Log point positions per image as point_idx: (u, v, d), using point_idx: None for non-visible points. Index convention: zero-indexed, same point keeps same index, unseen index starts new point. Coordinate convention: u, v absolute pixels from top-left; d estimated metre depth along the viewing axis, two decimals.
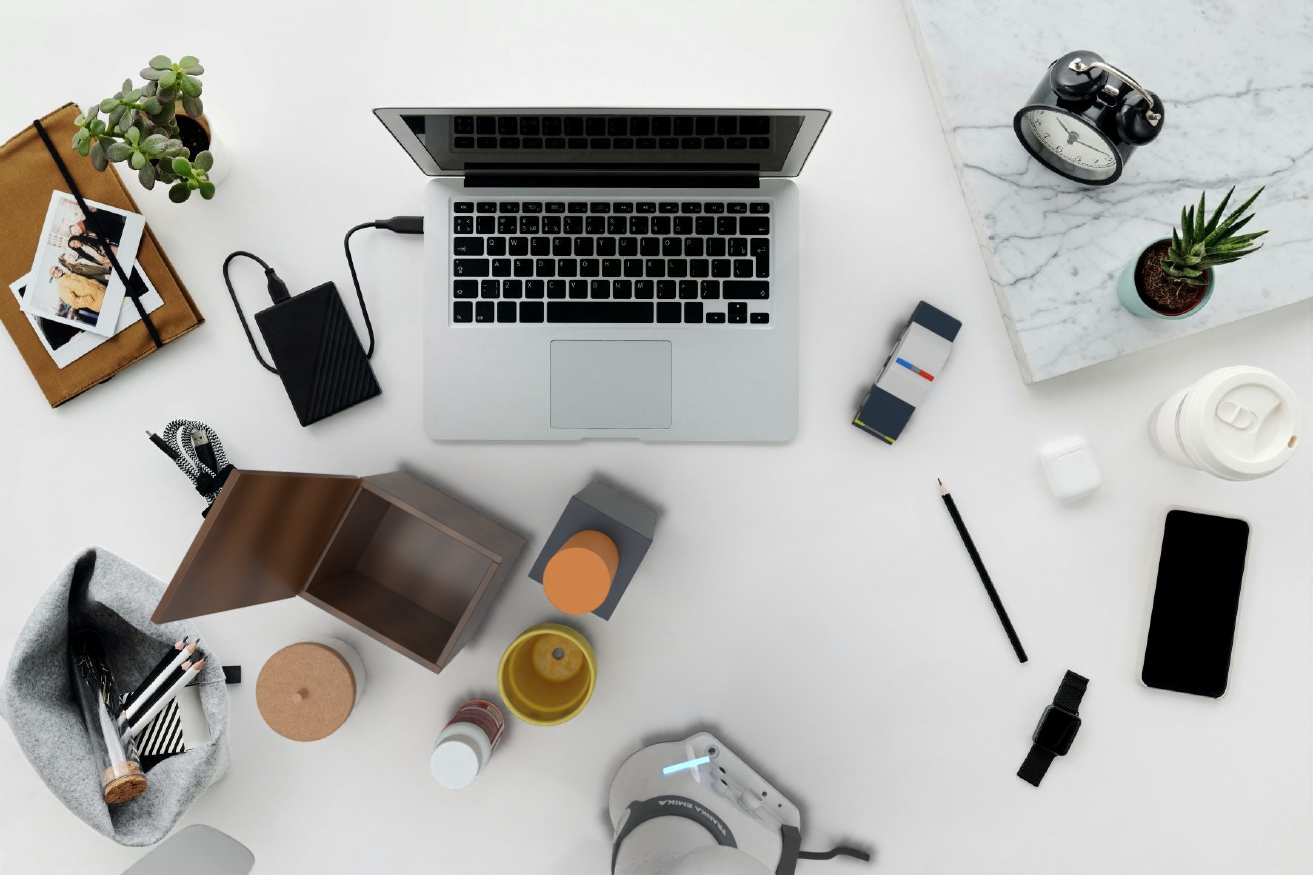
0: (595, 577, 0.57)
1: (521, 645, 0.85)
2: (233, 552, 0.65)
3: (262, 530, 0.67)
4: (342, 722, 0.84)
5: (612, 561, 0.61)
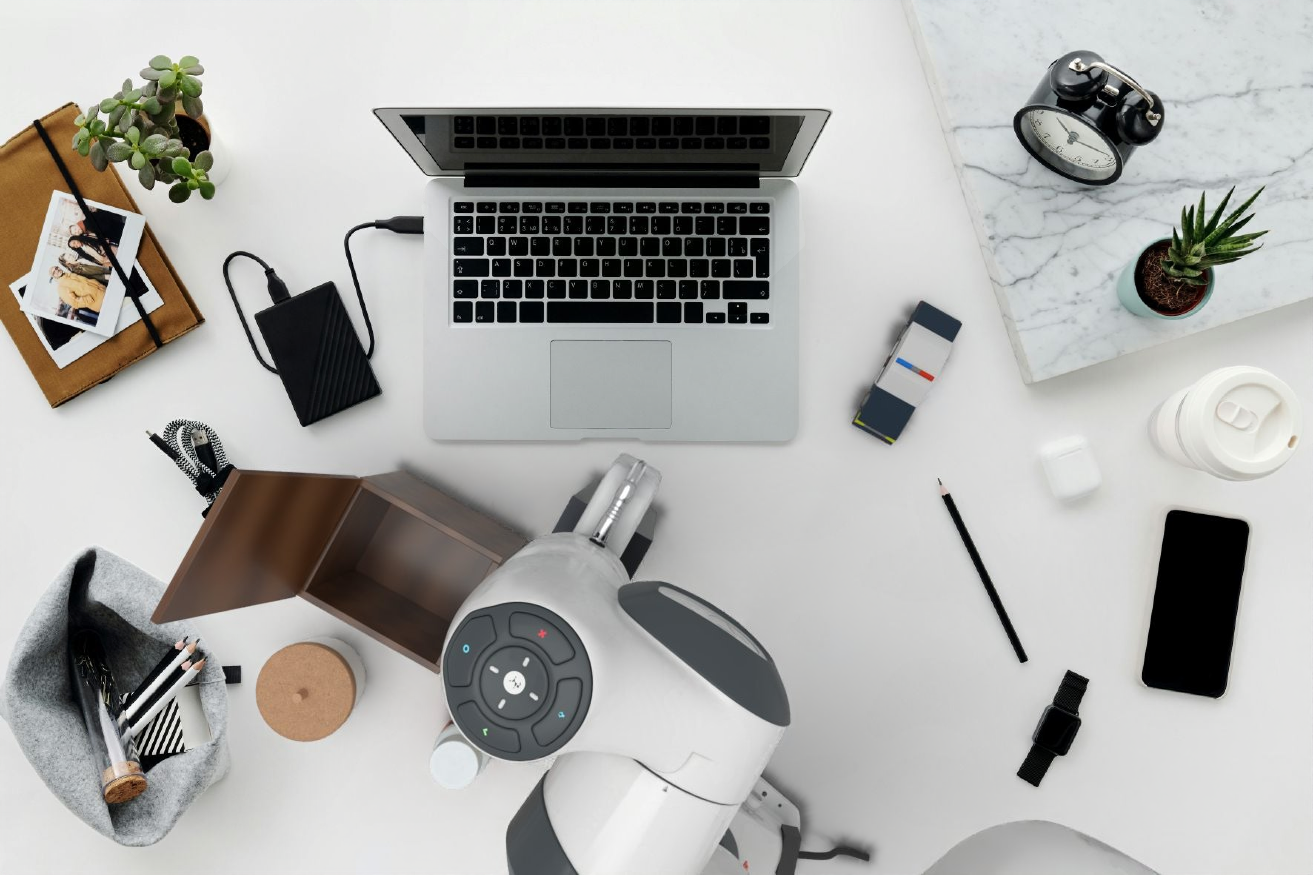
0: None
1: None
2: (233, 552, 0.65)
3: (262, 530, 0.67)
4: (342, 722, 0.84)
5: None
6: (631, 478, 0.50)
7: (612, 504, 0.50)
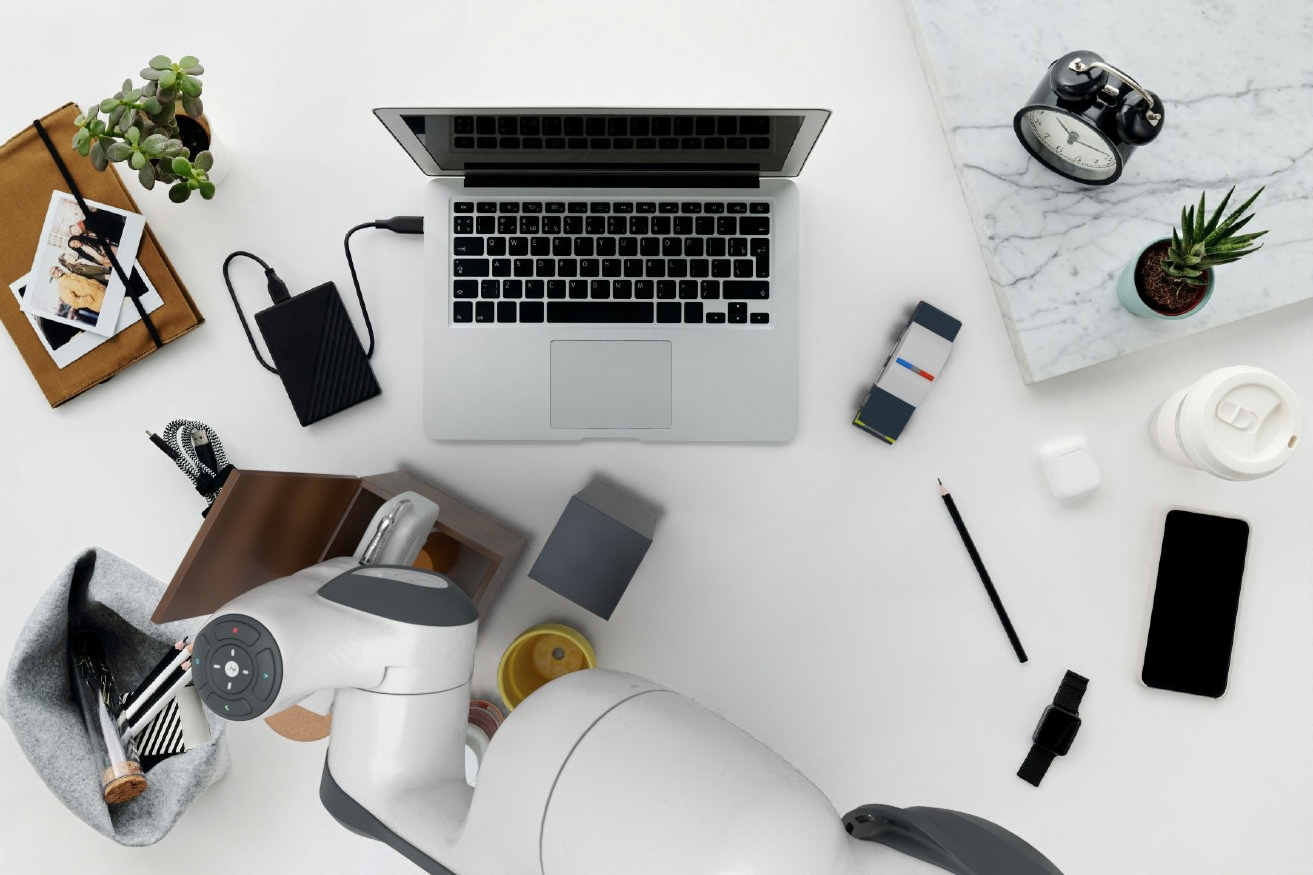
0: (422, 566, 0.81)
1: (521, 645, 0.85)
2: (233, 552, 0.65)
3: (262, 530, 0.67)
4: None
5: (442, 555, 0.85)
6: (389, 514, 0.66)
7: (375, 535, 0.66)
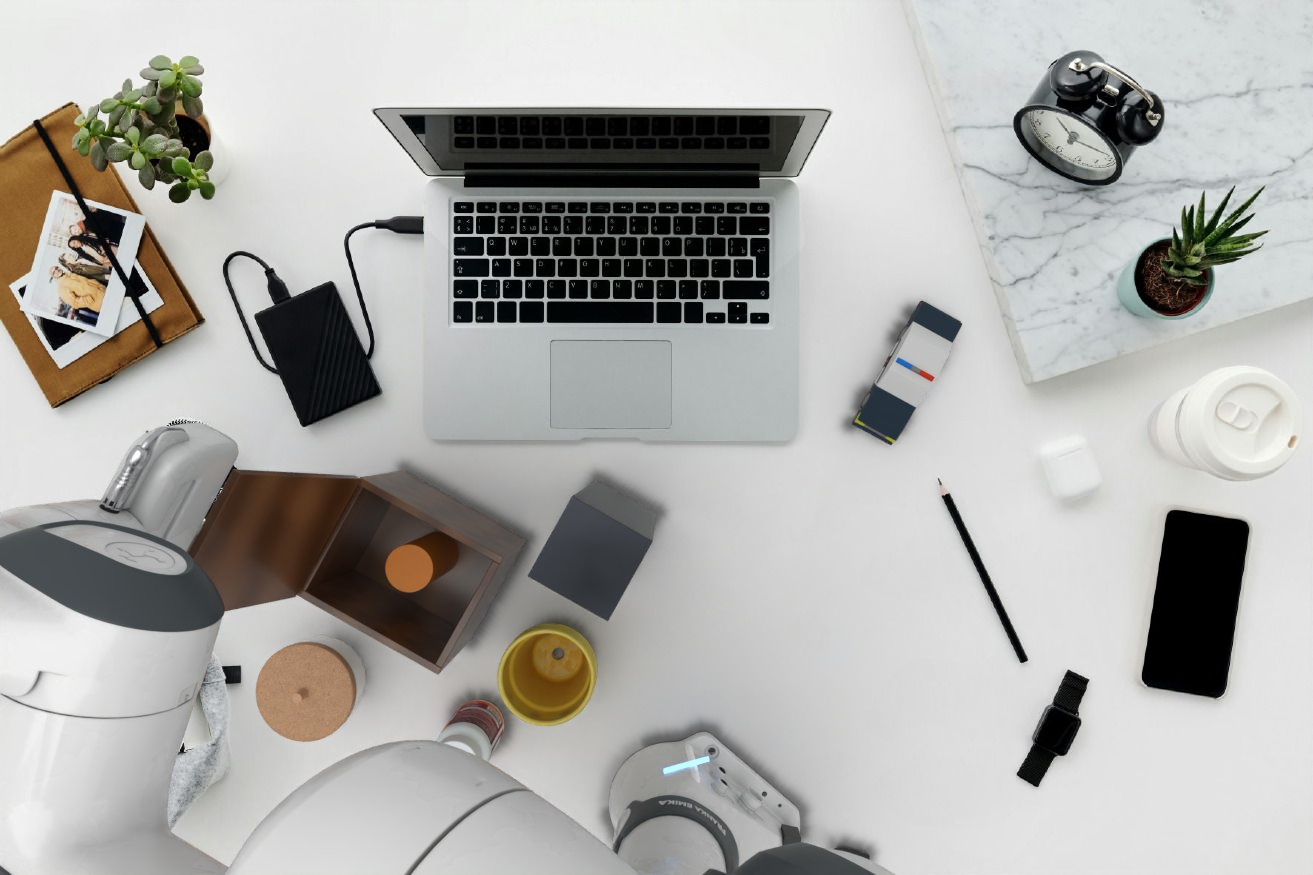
0: (422, 566, 0.81)
1: (521, 645, 0.85)
2: (233, 552, 0.65)
3: (262, 531, 0.67)
4: (342, 722, 0.84)
5: (442, 555, 0.85)
6: (142, 444, 0.50)
7: (122, 470, 0.50)
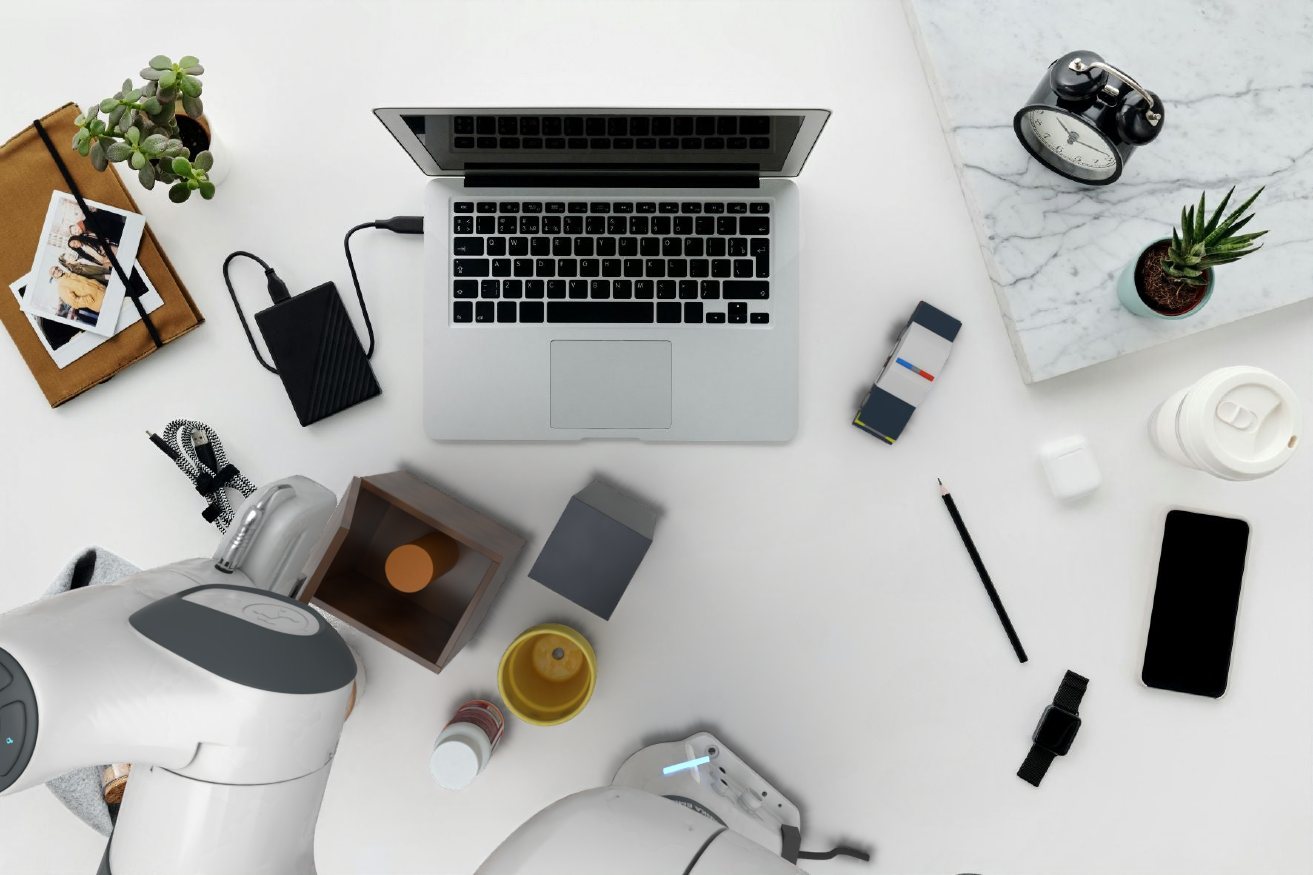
0: (422, 566, 0.81)
1: (521, 645, 0.85)
2: None
3: None
4: None
5: (442, 555, 0.85)
6: (257, 504, 0.50)
7: (237, 530, 0.50)
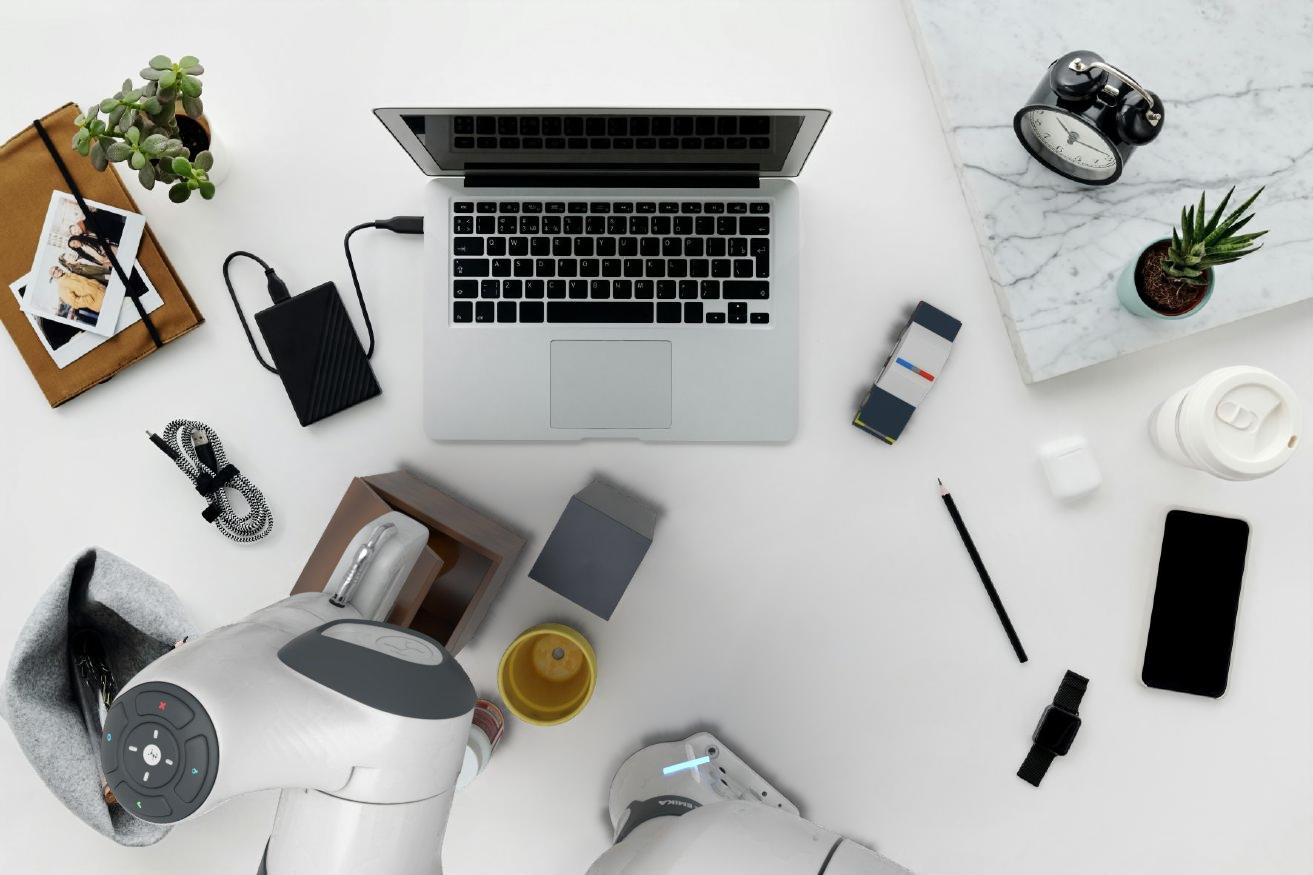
0: None
1: (521, 645, 0.85)
2: None
3: None
4: None
5: (442, 555, 0.85)
6: (368, 543, 0.54)
7: (350, 567, 0.54)
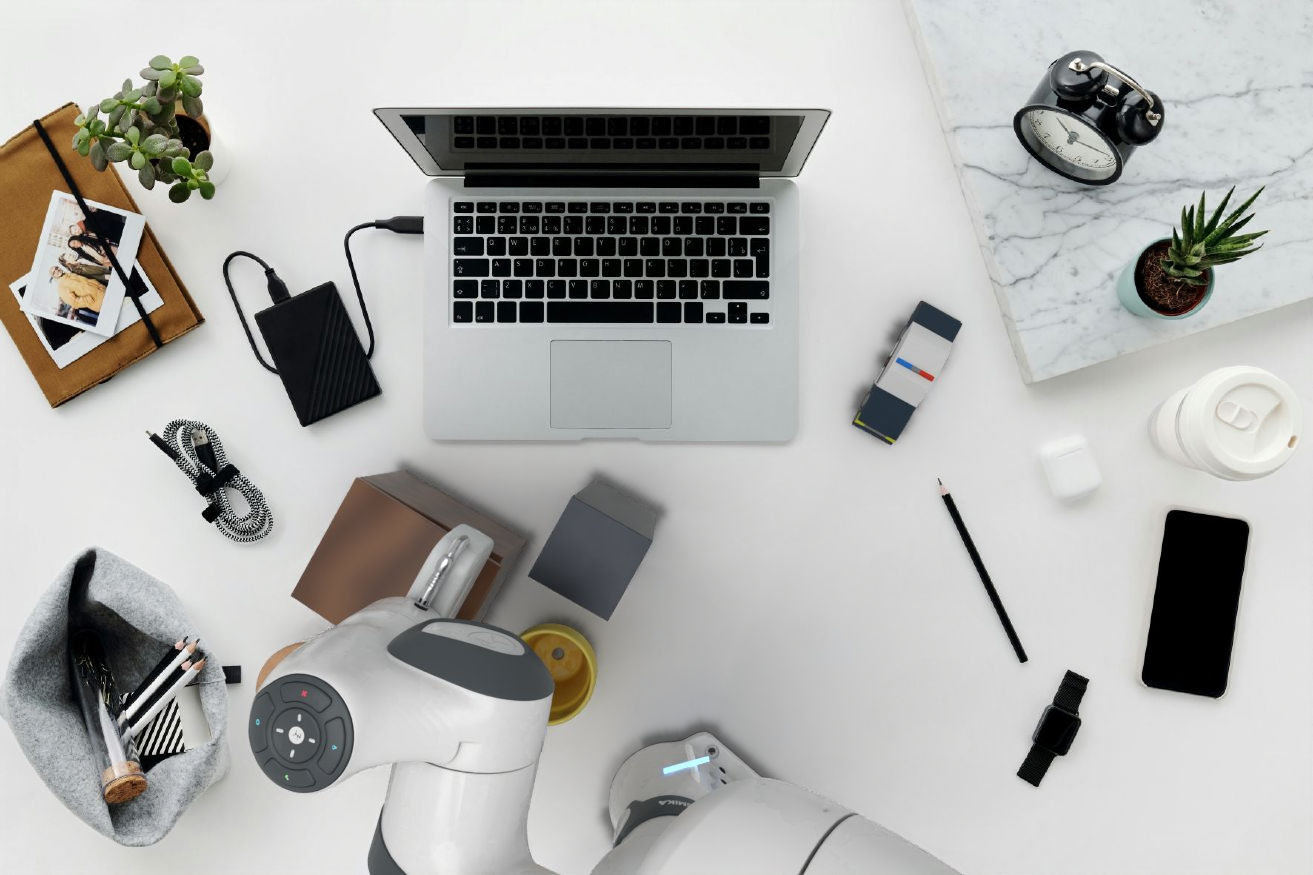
0: None
1: None
2: None
3: None
4: None
5: None
6: (448, 553, 0.61)
7: (432, 575, 0.61)
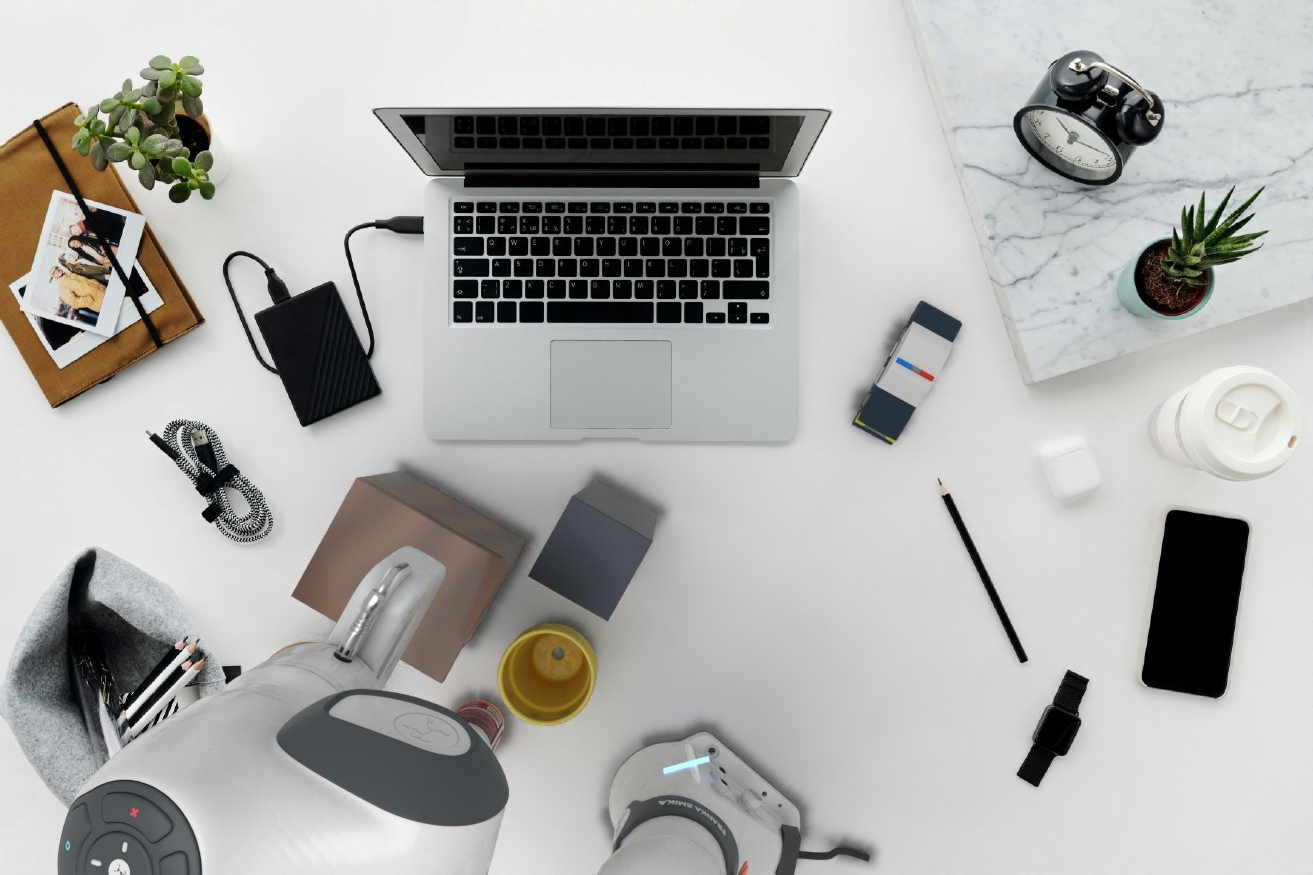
0: None
1: (521, 645, 0.85)
2: None
3: None
4: None
5: None
6: (379, 588, 0.47)
7: (358, 616, 0.47)
